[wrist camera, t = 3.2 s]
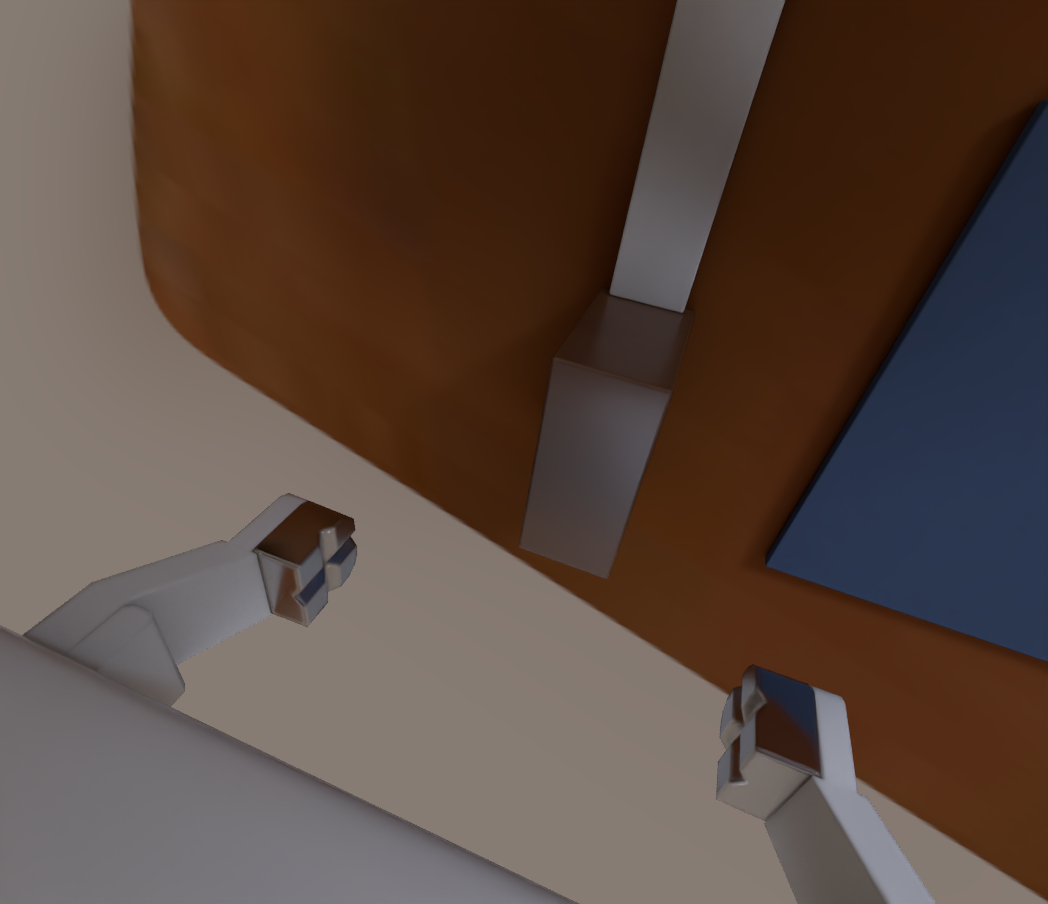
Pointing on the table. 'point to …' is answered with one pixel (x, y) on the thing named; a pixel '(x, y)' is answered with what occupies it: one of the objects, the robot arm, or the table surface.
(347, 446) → the table surface
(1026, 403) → the desk mat
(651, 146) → the letter opener
